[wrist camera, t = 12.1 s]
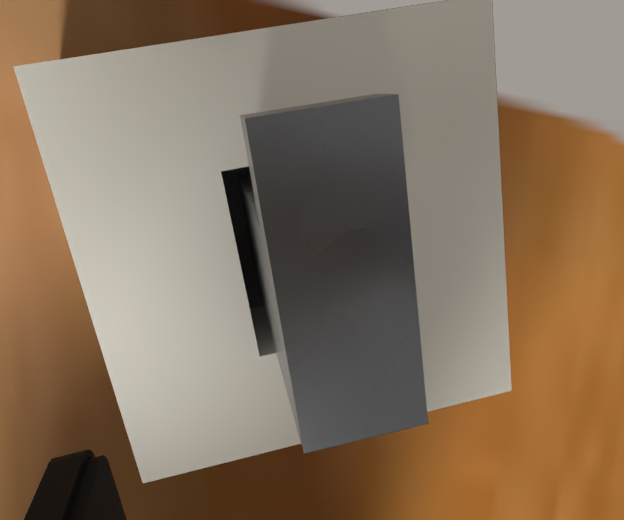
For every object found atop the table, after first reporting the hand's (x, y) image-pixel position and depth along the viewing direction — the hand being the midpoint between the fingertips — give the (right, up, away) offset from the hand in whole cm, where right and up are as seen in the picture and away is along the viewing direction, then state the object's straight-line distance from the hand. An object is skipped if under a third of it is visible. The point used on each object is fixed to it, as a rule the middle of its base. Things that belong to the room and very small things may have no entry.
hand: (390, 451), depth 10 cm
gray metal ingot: (-3, +6, +12) cm, 14 cm away
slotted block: (-2, +5, +13) cm, 14 cm away
